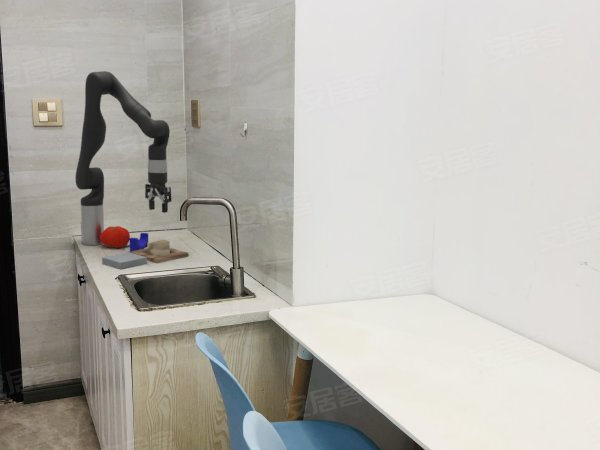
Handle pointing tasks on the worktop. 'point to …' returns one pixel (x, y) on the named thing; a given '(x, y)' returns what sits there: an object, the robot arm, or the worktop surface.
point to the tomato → (115, 237)
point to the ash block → (159, 247)
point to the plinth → (124, 260)
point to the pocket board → (173, 255)
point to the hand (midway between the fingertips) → (158, 211)
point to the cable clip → (139, 242)
